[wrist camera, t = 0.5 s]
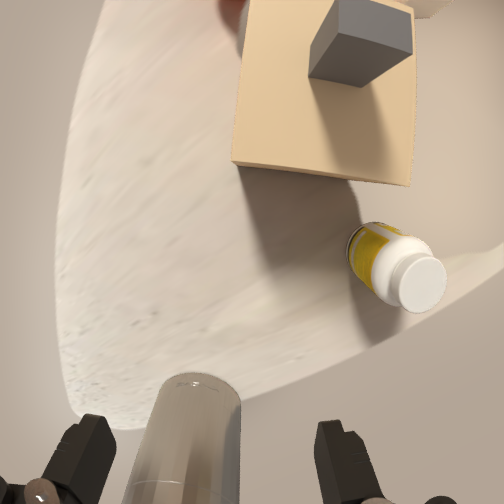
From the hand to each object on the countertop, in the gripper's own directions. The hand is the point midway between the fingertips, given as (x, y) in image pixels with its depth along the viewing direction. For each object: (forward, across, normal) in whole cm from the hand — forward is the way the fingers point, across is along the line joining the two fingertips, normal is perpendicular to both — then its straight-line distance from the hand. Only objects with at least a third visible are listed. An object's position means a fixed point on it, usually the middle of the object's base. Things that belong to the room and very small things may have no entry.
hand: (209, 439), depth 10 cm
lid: (+9, +6, +15) cm, 19 cm away
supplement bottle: (+19, +13, +1) cm, 23 cm away
